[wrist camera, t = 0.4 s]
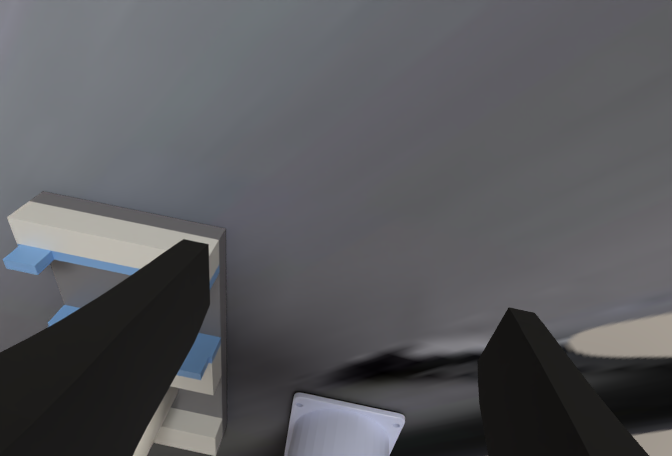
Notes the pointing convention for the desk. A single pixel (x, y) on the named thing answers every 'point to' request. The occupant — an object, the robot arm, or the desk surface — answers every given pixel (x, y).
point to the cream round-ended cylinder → (156, 423)
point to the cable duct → (115, 266)
